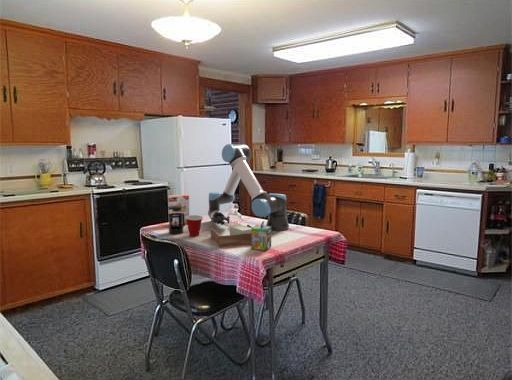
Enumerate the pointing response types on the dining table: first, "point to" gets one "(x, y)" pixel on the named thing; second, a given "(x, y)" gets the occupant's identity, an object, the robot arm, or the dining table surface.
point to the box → (231, 238)
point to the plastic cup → (194, 224)
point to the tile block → (239, 229)
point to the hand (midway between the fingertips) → (226, 224)
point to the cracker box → (180, 201)
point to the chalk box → (261, 237)
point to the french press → (175, 229)
